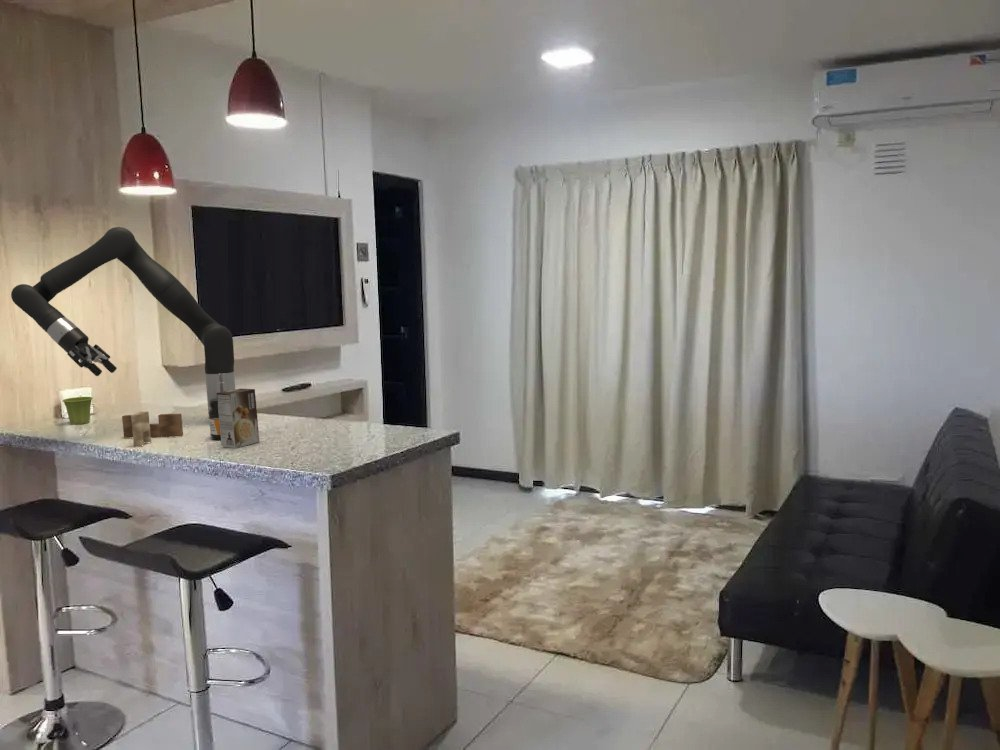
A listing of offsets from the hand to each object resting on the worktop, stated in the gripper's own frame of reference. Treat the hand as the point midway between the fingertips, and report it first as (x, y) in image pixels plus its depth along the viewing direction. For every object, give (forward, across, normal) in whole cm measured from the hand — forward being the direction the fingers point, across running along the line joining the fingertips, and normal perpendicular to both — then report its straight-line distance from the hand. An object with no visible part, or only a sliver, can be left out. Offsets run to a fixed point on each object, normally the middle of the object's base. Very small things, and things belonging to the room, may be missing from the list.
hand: (107, 372), depth 249 cm
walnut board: (+22, +5, +8) cm, 24 cm away
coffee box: (+46, -10, -16) cm, 50 cm away
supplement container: (+40, +2, -11) cm, 42 cm away
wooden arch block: (+24, -6, +6) cm, 26 cm away
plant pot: (-6, +34, +36) cm, 50 cm away
